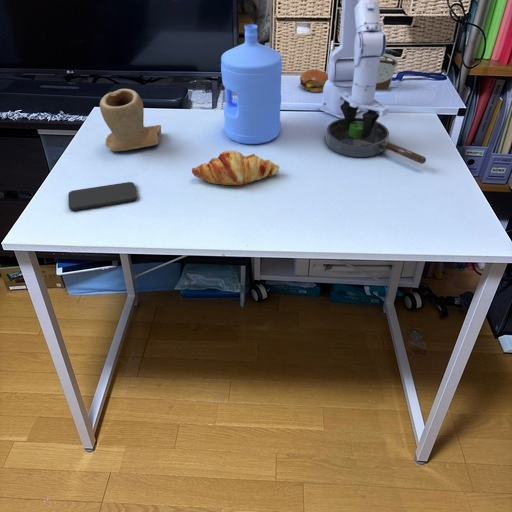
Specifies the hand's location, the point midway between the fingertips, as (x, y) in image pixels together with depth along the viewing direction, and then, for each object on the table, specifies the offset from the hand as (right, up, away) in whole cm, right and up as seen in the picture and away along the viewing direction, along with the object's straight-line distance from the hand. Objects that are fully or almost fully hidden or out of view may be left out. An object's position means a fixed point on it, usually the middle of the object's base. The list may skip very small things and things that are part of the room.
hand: (357, 132), depth 131 cm
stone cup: (-59, -3, +2) cm, 59 cm away
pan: (0, -2, +2) cm, 3 cm away
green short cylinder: (0, -1, +1) cm, 1 cm away
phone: (-62, -19, -17) cm, 67 cm away
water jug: (-28, +2, +7) cm, 29 cm away
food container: (+11, +23, +30) cm, 40 cm away
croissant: (-32, -14, -11) cm, 36 cm away
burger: (-8, +22, +31) cm, 39 cm away
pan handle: (+10, -8, -7) cm, 14 cm away
